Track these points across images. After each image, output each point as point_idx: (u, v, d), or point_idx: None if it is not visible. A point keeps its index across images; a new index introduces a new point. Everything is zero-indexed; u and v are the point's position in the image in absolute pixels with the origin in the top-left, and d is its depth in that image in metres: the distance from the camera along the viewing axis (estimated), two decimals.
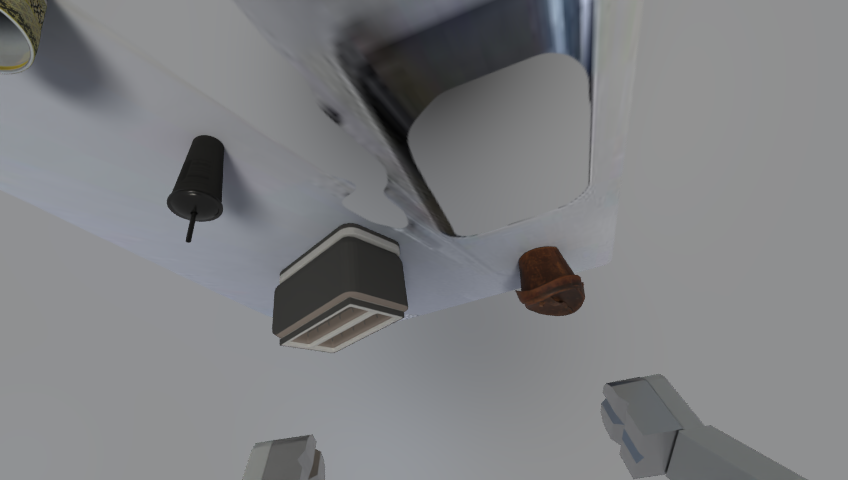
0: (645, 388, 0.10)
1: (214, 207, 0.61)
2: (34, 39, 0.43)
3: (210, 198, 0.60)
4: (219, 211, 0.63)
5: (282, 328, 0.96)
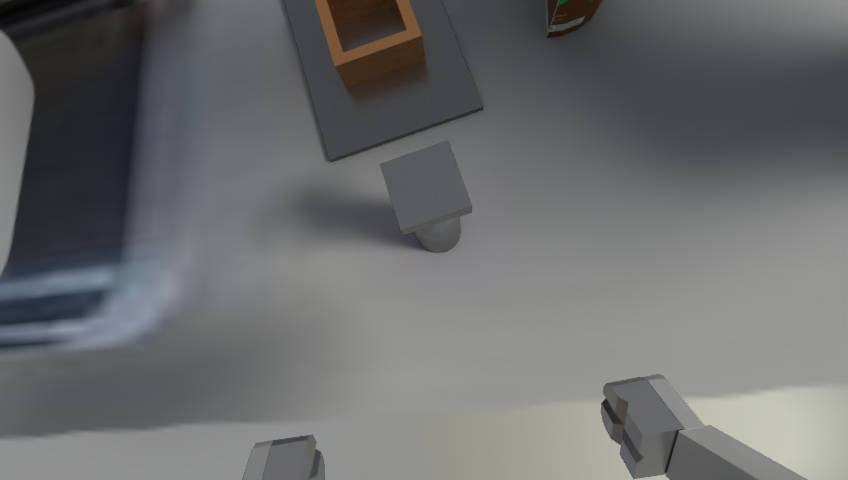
0: (645, 388, 0.10)
1: None
2: None
3: None
4: None
5: None
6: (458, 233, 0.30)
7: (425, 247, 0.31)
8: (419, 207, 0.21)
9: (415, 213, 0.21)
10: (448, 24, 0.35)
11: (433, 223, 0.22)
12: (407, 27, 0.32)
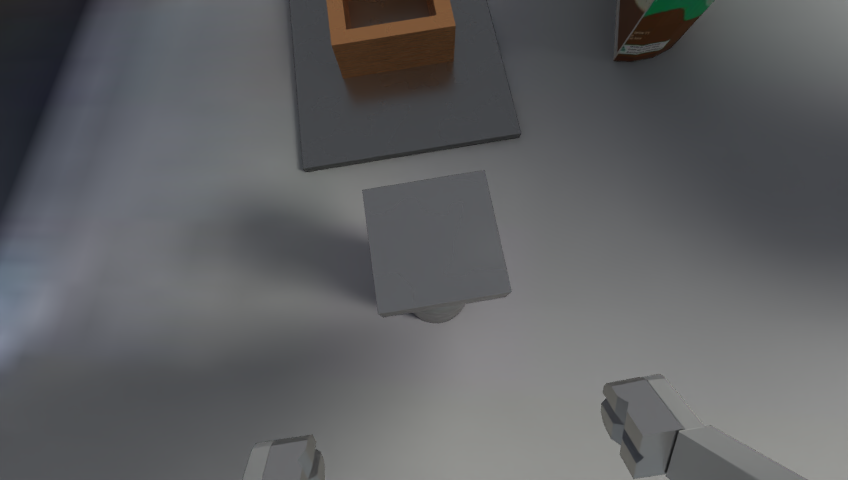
0: (645, 388, 0.10)
1: None
2: None
3: None
4: None
5: None
6: None
7: (414, 313, 0.22)
8: (418, 278, 0.12)
9: (409, 287, 0.12)
10: (489, 23, 0.27)
11: (436, 307, 0.12)
12: (437, 12, 0.24)
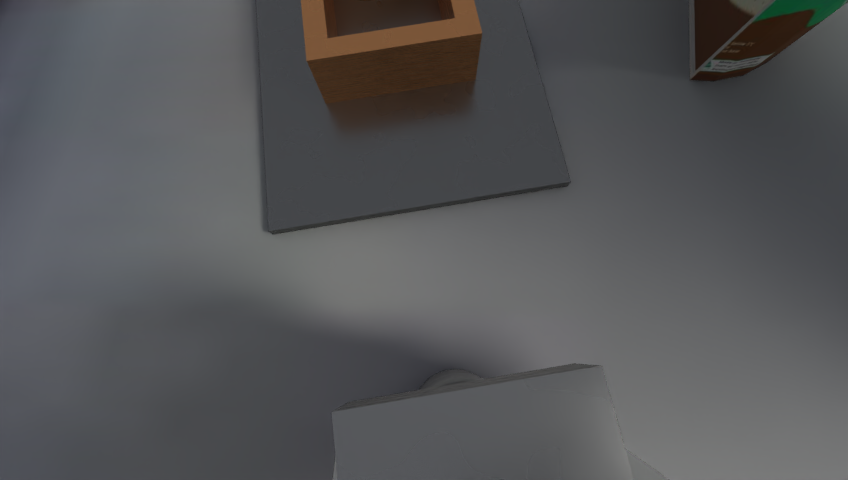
0: None
1: None
2: None
3: None
4: None
5: None
6: None
7: None
8: None
9: None
10: (522, 28, 0.20)
11: None
12: (456, 14, 0.17)
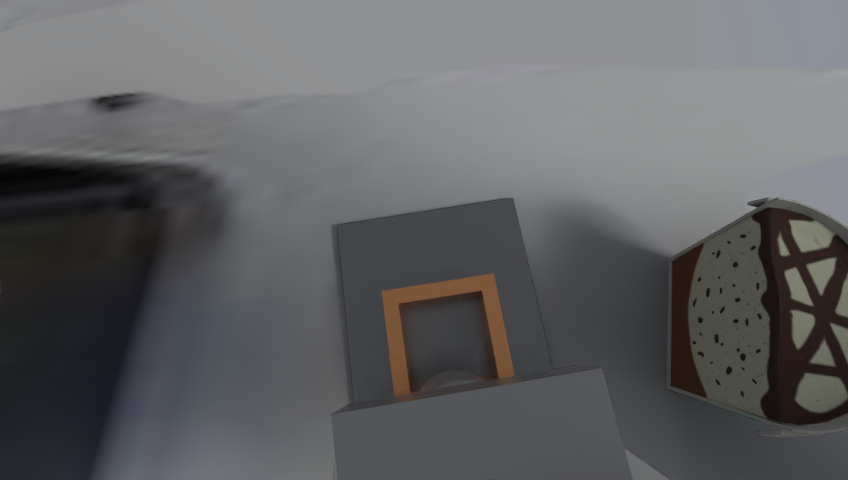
0: None
1: None
2: None
3: None
4: None
5: None
6: None
7: None
8: None
9: None
10: (544, 343, 0.28)
11: None
12: (500, 375, 0.24)
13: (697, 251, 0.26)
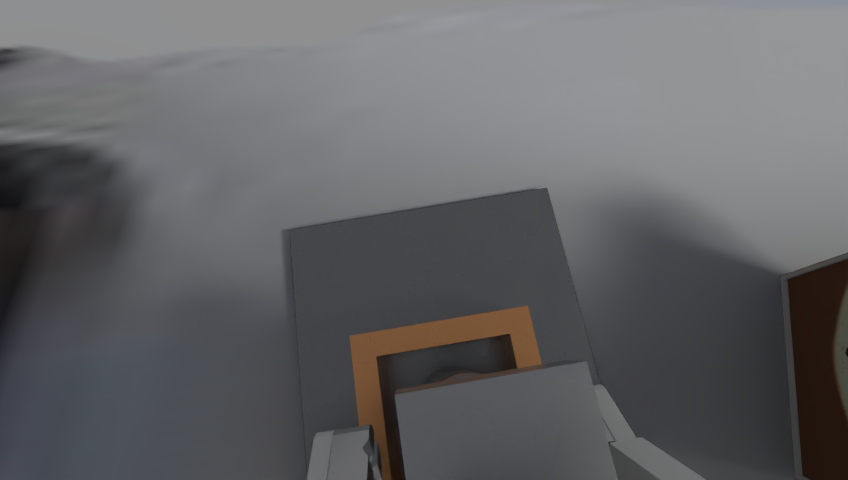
0: None
1: None
2: None
3: None
4: None
5: None
6: None
7: None
8: None
9: None
10: None
11: None
12: None
13: (847, 267, 0.17)
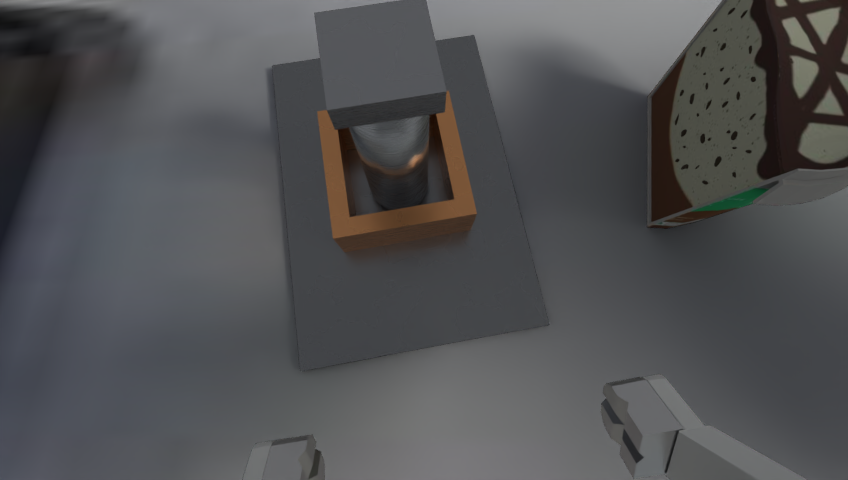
0: (645, 388, 0.10)
1: None
2: None
3: None
4: None
5: None
6: (423, 182, 0.22)
7: (377, 199, 0.23)
8: (363, 82, 0.13)
9: (355, 89, 0.13)
10: (509, 181, 0.24)
11: (382, 115, 0.14)
12: (455, 195, 0.21)
13: (679, 66, 0.23)
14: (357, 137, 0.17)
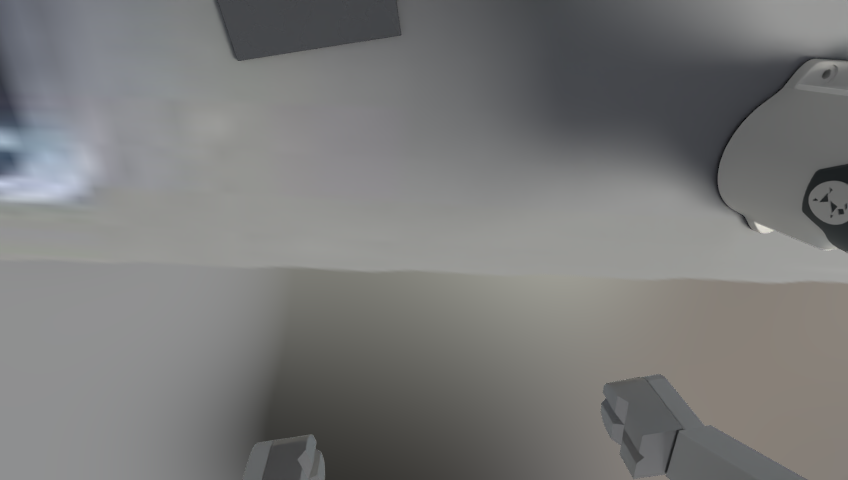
0: (645, 388, 0.10)
1: None
2: None
3: None
4: None
5: None
6: None
7: None
8: None
9: None
10: None
11: None
12: None
13: None
14: None
